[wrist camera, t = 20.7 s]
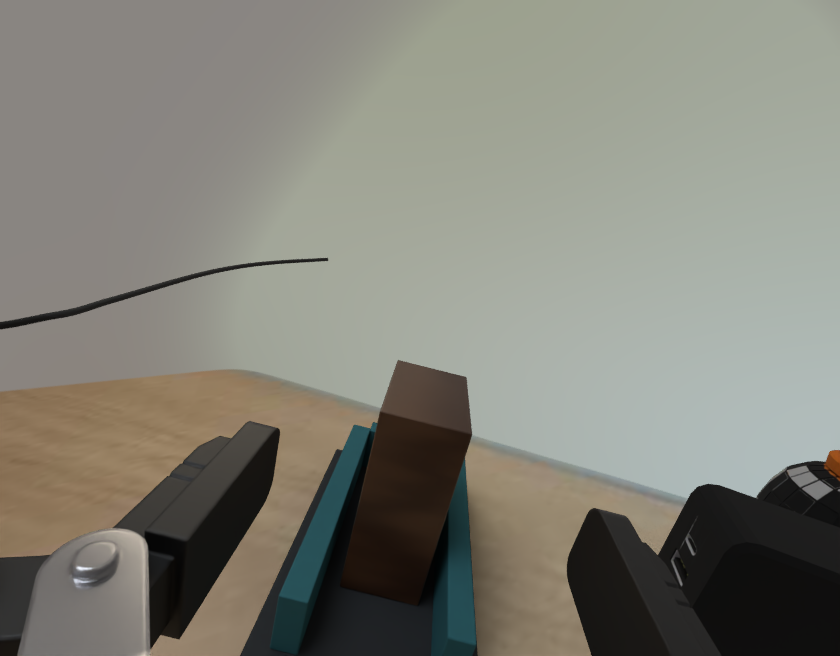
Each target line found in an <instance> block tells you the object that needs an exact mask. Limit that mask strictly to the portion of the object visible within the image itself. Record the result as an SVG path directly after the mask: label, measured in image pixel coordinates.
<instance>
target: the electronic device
mask: <svg viewBox="0 0 840 656" xmlns="http://www.w3.org/2000/svg"><path fill="white" fill-rule="evenodd" d="M658 556H659V557H660V558H661V559H662V560H663V562H664V563H665V564H666V565H667V567H668V569H669V570H670V572H671V574H672V575H673V577H674V578H675V580H676V582H677V583H678V585H679V586H678V588H679V589H681V590H682V592H683V593H684V595H685V597H686V598H687V600H688V601H689V603H690V608H692V609H693V610H694V611H695V613H696V615H697V616H698V618H699V619H700V621H701V623H702V624H703V626H704V628H705V629H706V631H707V633H708V634H709V636H710V638H711V639H712V641H713V642H714V644H715V646H716V647H717V649H718V651H719V652H720V654H721V656H840V528H839V527H837V526H834V525H831V524H828V523H825V522H822V521H819V520H817V519H814V518H811V517H808V516H805V515H802V514H799V513H797V512H794V511H791V510H788V509H785V508H782V507H780V506H777V505H774V504H771V503H768V502H765V501H762V500H760V499H757V498H754V497H751V496H748V495H745V494H742V493H739V492H737V491H734V490H731V489H728V488H725V487H722V486H720V485H713V484H706V485H703V486H699V487H697V488H696V489H695V490H694V491H693V492H692V493H691V494H690V496H689V498H688V500H687V502H686V504H685V505H684V507H683V509H682V511H681V513H680V515H679V517H678V519H677V521H676V522H675V524H674V526H673V528H672V530H671V532H670V534H669V536H668V537H667V539H666V541H665V543H664V545H663V547H662V549H661V551H660V553H659V554H658Z"/></svg>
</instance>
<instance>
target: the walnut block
mask: <svg viewBox="0 0 840 656" xmlns="http://www.w3.org/2000/svg"><path fill="white" fill-rule="evenodd" d="M471 437H472V429H471V419H470V409H469V399H468V389H467V378H466V377H464V376H460V375H456V374H451V373H447V372H443V371H439V370H435V369H431V368H427V367H423V366H419V365H415V364H411V363H407V362H403V361H399V360H398V361H397V364H396V367H395V370H394V373H393V376H392V378H391V381H390V385H389V387H388V390H387V393H386V396H385V399H384V402H383V405H382V407H381V410H380V414H379V418H378V423H377V427H376V431H375V435H374V440H373V444H372V448H371V453H370V457H369V461H368V466H367V470H366V474H365V478H364V483H363V487H362V491H361V496H360V500H359V504H358V508H357V513H356V517H355V521H354V526H353V530H352V534H351V539H350V543H349V547H348V551H347V556H346V560H345V564H344V569H343V573H342V577H341V582H340V587H344V588H348V589H352V590H356V591H360V592H364V593H368V594H372V595H376V596H380V597H384V598H388V599H392V600H396V601H400V602H404V603H408V604H412V605H416V606H418V604H419V601H420V598H421V594H422V591H423V588H424V585H425V582H426V579H427V575H428V572H429V569H430V566H431V563H432V560H433V557H434V553H435V550H436V547H437V544H438V541H439V538H440V534H441V531H442V528H443V525H444V522H445V519H446V515H447V512H448V509H449V506H450V503H451V500H452V497H453V493H454V490H455V487H456V484H457V481H458V478H459V474H460V471H461V468H462V465H463V462H464V459H465V456H466V452H467V449H468V446H469V443H470V440H471Z"/></svg>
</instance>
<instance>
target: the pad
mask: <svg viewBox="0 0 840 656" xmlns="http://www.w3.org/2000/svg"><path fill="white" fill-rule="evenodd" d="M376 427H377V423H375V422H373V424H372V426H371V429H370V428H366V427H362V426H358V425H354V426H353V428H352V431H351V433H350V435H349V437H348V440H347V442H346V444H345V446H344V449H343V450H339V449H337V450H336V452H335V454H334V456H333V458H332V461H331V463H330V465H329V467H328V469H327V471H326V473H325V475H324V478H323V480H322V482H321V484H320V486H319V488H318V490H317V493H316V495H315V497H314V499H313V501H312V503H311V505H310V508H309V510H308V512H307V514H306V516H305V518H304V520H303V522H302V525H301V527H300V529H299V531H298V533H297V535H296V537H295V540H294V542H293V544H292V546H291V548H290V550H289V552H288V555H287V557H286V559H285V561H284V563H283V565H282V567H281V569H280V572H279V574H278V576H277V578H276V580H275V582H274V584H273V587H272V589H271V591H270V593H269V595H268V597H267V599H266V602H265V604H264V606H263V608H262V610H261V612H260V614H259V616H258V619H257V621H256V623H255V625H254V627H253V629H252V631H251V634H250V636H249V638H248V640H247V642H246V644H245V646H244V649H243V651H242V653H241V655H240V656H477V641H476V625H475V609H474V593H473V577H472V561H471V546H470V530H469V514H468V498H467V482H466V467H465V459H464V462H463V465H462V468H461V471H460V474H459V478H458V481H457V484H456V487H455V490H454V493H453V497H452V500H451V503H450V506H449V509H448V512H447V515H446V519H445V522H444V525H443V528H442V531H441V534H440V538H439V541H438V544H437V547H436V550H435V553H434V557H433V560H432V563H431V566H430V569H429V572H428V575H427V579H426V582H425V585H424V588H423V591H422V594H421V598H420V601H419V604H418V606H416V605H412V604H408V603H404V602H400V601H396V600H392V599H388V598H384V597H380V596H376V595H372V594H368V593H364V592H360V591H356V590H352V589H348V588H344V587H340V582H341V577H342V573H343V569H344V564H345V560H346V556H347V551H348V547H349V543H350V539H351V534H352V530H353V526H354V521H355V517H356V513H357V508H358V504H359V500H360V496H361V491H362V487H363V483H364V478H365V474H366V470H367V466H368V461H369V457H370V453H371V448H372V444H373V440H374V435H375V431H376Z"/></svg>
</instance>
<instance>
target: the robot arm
mask: <svg viewBox="0 0 840 656" xmlns="http://www.w3.org/2000/svg"><path fill="white" fill-rule="evenodd" d="M315 261H328V258H317V259H297V260H281V261H267V262H256V263H248V264H241V265H234V266H228V267H223V268H218V269H213V270H208V271H204V272H200V273H195V274H191V275H188V276H184V277H180V278H177V279H173V280H169V281H166V282H162V283H159V284H156V285H152V286H149V287H145V288H142V289H138V290H135V291H131V292H128V293H124V294H121V295H118V296H114V297H111V298H107V299H103V300H100V301H96V302H94V303H90V304H87V305H84V306H80V307H77V308H73V309H68V310H63V311H58V312H52V313H46V314H40V315H35V316H30V317H25V318H20V319H15V320H9V321H3V322H0V329H8V328H14V327H19V326H24V325H29V324H33V323H38V322H42V321H47V320H52V319H59V318H64V317H68V316H73V315H77V314H80V313H83V312H87V311H90V310H92V309H95V308H98V307H101V306H104V305H107V304H111V303H114V302H118V301H121V300H124V299H128V298H131V297H134V296H137V295H141V294H144V293H147V292H151V291H154V290H157V289H160V288H163V287H167V286H170V285H173V284H177V283H180V282H183V281H187V280H191V279H194V278H198V277H202V276H206V275H210V274H214V273H219V272H224V271H228V270H234V269H240V268H247V267H254V266H262V265H272V264H284V263H299V262H315ZM279 436H280V430H279V428H275V427H271V426H267V425H263V424H259V423H255V422H251V421H249V422H247V423H246V424H245V425H244V426H243V427H242V428H241V429H240V430H239V431H238V432H237V433H236V434H235V435H234V436H233V437H232V438H227V437H223V436H219V437H217V438H215V439H213V440H211V441H209V442H206V443H204V444H202V445H200V446H199V447H198V448H196V449H195V450H194V451H193V452H192V453H191V454H190V455H189V456H188V457H187V458H186V459H185V460H184V462H183V464H180V465H179V466H178V467H176V468H175V469H174V470H173V471H172V472H171V474H170V476H167V477H166V478H165V479H164V480H163V481H162V482H161V483H160V484H159V485H158V486H156V487H155V488H154V489H153V490H152V491H151V492H150V493H149V494H148V495H147V496H146V497H145V498H144V499H143V500H142V501H141V502H140V503H139V504H138V505H137V506H135V507H134V508H133V509H132V510H131V511H130V512H129V513H128V514H127V515H126V516H125V517H124V518H123V519H122V520H121V521H120V522H119V523H118V524H117V525H115V526H114V527H113V528H112V529H103V530H98V531H94V532H90V533H87V534H84V535H82V536H79V537H77V538H75V539H73V540H71V541H69V542H68V543H66V544H64V545H63V546H61V547H60V548H58V549H57V550H56V551H54V552H53V553H52V554H51V555H44V556H28V557H6V558H0V656H150V649H151V648H152V647H153V645H154V644H155V642H156V641H157V639H158V638H159V636H160V635H164V636H168V637H172V638H176V639H180V637H181V636H182V634H183V633H184V631H185V629H186V628H187V626H188V625H189V623H190V621H191V620H192V618H193V617H194V615H195V613H196V612H197V610H198V609H199V607H200V605H201V604H202V602H203V601H204V599H205V597H206V596H207V594H208V593H209V591H210V589H211V588H212V586H213V585H214V583H215V581H216V580H217V578H218V577H219V575H220V574H221V572H222V570H223V569H224V567H225V566H226V564H227V562H228V561H229V559H230V558H231V556H232V554H233V553H234V551H235V550H236V548H237V546H238V545H239V543H240V542H241V540H242V538H243V537H244V535H245V534H246V532H247V530H248V529H249V527H250V526H251V524H252V522H253V521H254V519H255V518H256V516H257V514H258V513H259V511H260V510H261V508H262V506H263V505H264V503H265V501H266V499H267V496H268V494H269V491H270V488H271V485H272V481H273V476H274V470H275V463H276V456H277V450H278V443H279ZM567 578H568V582H569V586H570V589H571V592H572V595H573V598H574V602H575V605H576V608H577V611H578V614H579V617H580V620H581V623H582V627H583V630H584V633H585V636H586V639H587V642H588V645H589V649H590V652H591V655H592V656H721V654H720V652H719V651H718V649H717V647H716V646H715V644H714V642H713V641H712V639H711V638H710V636H709V634H708V633H707V631H706V629H705V628H704V626H703V624H702V623H701V621H700V619H699V618H698V616H697V615H696V613H695V611H694V610H693V609H692V608H690V603H689V601H688V600H687V598H686V597H685V595H684V593H683V592H682V590H681V589H679V588H678V586H679V585H678V583H677V582H676V580H675V578H674V577H673V575H672V574H671V572H670V570H669V569H668V567H667V565H666V564H665V563H664V562H663V560H662V559H661V558H660V557H659V556H658V555H657V554H656V553H655V552H654V551H653V550H652V549H651V548H650V547H649V546H648V545H647V544H646V543H643V542H642V541H641V540H640V538H639V536H638V534H637V533H636V531H635V529H634V527H633V526H632V524H631V522H630V521H629V519H628V518H627V517H626V516H624V515H620V514H616V513H612V512H608V511H604V510H600V509H596V508H593V509H591V510H590V511H589V512H588V514H587V516H586V518H585V520H584V522H583V525H582V527H581V529H580V531H579V534H578V536H577V538H576V540H575V542H574V545H573V547H572V549H571V551H570V554H569V557H568V562H567Z"/></svg>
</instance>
